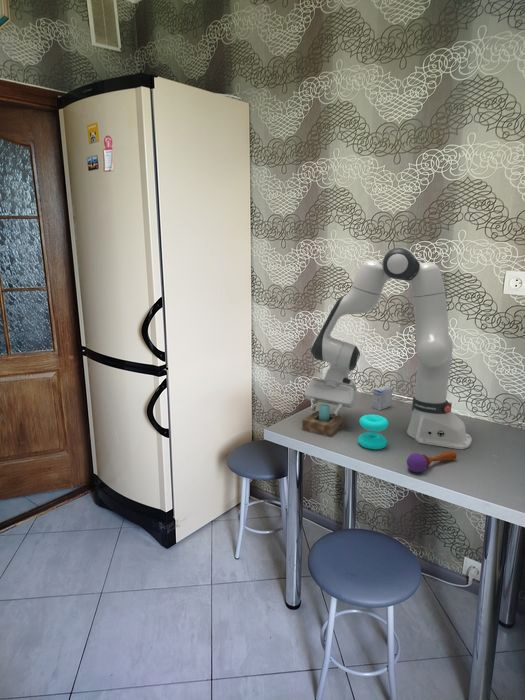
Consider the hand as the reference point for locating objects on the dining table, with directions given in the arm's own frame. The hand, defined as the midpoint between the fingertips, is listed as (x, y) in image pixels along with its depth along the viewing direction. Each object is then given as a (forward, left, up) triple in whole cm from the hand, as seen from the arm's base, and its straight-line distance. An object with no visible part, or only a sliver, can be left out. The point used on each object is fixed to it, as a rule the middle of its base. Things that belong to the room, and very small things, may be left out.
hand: (323, 412), depth 176 cm
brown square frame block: (0, -1, -7) cm, 7 cm away
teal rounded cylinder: (0, -1, -7) cm, 7 cm away
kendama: (-42, +8, -7) cm, 44 cm away
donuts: (-21, +3, -7) cm, 22 cm away
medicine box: (-11, -37, -7) cm, 39 cm away
